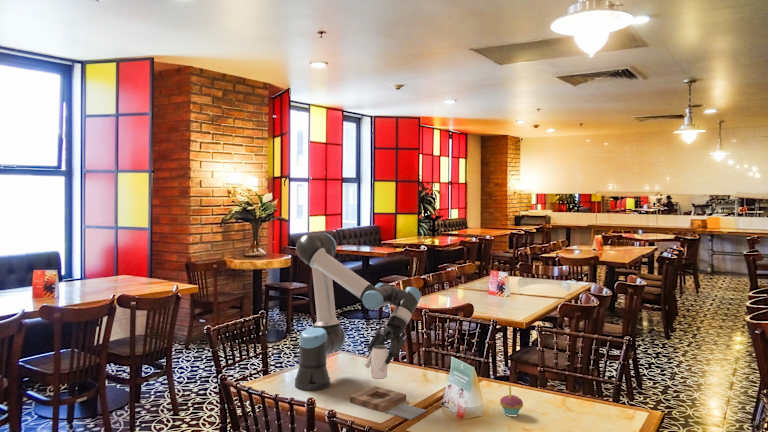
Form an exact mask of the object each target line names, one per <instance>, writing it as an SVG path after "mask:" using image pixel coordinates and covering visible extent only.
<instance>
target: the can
mask: <svg viewBox="0 0 768 432" xmlns="http://www.w3.org/2000/svg"><path fill="white" fill-rule="evenodd" d="M388 352H389V349H388V346H387V345H384V344H383V345H375V346H373V349H372V356H371V365H370V377H371V378H372V379H375V380H384V379H386V378H387V377H388V365H387V366H386V368H385V370H384V372H381V370H380V369H379V367H380V365H381V363H382V361H383V359H384V357H385V356H386V354H388ZM388 355H389V354H388Z"/></svg>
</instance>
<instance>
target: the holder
mask: <svg viewBox="0 0 768 432" xmlns="http://www.w3.org/2000/svg"><path fill="white" fill-rule="evenodd" d="M406 401H407V394H406V393H403V392H399V391H395V390H392V389H387V388H384V387H379V386H378V385H374V386H371V387H369V388H367V389H364V390H361V391H360V392H357V393H353V394H352V395H350V396H349V403H350V404H353V405H356V406H357V405H358V406H360V407H364V408H368V409H370V410H374V411H378V412H380V413H384V412H387V411H389V410H391V409H393V408H395V407H397V406H399V405H401V404H403V403H404V402H406Z"/></svg>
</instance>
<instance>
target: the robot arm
mask: <svg viewBox="0 0 768 432" xmlns="http://www.w3.org/2000/svg"><path fill="white" fill-rule="evenodd" d="M337 247H338V245H337V242H336V239H335V238H334V236H332V235H331V234H329V233H327V232H318V233H317V232H316V233H310V234H309V233H308V234H304V235H302V236H300V238H299V239H298V240H297V243H296V244H295V252H296V254H297V256H298V258H300V260H301V261H303V263H305V264H306V265H308V266H309V267H310V268H311V272H312V273H311V274H312V283H313V292H314V301H315V312H316V322H315V323H314V324H313V326H314V327H311V328H306V329H304V330H302V331H301V333H299V339H298V344H299V349H298V350H299V352H298V353H299V355H298V358H299V359H298V362H299V363H298V370H297V372H296V375H295V379H294V387H295V388H297V389H300V390H303V391H319V390H320V391H321V390H323V389H327V388H328V387H330V386H331V378H330V375H329V371H328V368H327V356H328V355H331V354H333V353H336V352H337V351H339V350H340V349H341V348H342V347H343V346H344V345H345V343H346V339H347V338H346V336H347V335H346V332H345V329H344V328H342V326H341V321H340V320H339V319H337V314H336V305H335V304H336V303H335V294H334V285H333V281H335V283H337V284H339V285H340V286H341V287H343V288H344V289H345V290H347V291H349V292H350V293H351V294H353V295H354V296H356V297H357V298H358V299H360V301H362V304H363V306H364V308H365V309H368V310H377V309H379V308H381V307H384V306H386V305H390V306H394V307H395V308H394V310H393V312H392V313H391V315H390V317H389V319H388V321H387V323H386V327H384V328H383V329H381V328H380V327H378V328H377V331H376V333H375V334H374V336H373V338H372V339H371V341H370V342H369V344H368V345H367V349H368V350H369V352H368V354H367V357H366V360H365V362H364V366H365V367H366V368H367V369H370V368H371V356H372V349H373V346H375V345H384V344H385V343H386V342H388V341H390V344H389V348H388V354H386V356H385V357H384V359H383V361H382V363H381V365H380V367H379V369H380V370H381V372H384V370H385V368H386V366H387V367H388V365H389V364H390V363H391V362H392V359H393V358H398V357H399V355H400V353H401V350H402V348H403V345H404V343H405V341H406V340H407V339H408V336H407V335H406V334H405V333H404V331H405V330H406V328H407V325H408V324H409V321H410V320H411V318H412V316H413V313H414V312H415V311H416V308H417V306H419V302H420V300H421V298H422V293H421V291H420V290H419V289H417V288H416V287H413V286H407V287H406V288H405V289H400V288H397V287H396V286H393V285H389V284H388V283H383V282H378V283H377V284H376V285H375V286H374V285H373V284H371V283H370V282H368V281H367V280H366V279H364V277H361V276H360V275H359V274H357V273H355V271H353V270H351V269H350V268H348V267H347V266H345V265H344V264H343V263H341V262H340V261H338V260H337V259H336V258H335V257H334V255H335V254H336V252H337Z"/></svg>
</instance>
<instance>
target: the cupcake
mask: <svg viewBox="0 0 768 432" xmlns="http://www.w3.org/2000/svg"><path fill="white" fill-rule="evenodd" d="M508 388H509V389H508V391H509V394H507V395H504V396H502V397H501V398H500V402H499V405H500V406H501V407H502V409H503V412H504V415H505V414H508V415H517V414H518V415H519V412H520V410H521V409H522V408H523V407H524V402H523V400H522V398H520V397H519V396H517V395H514V394H512V386H511V385H509V386H508Z"/></svg>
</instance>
